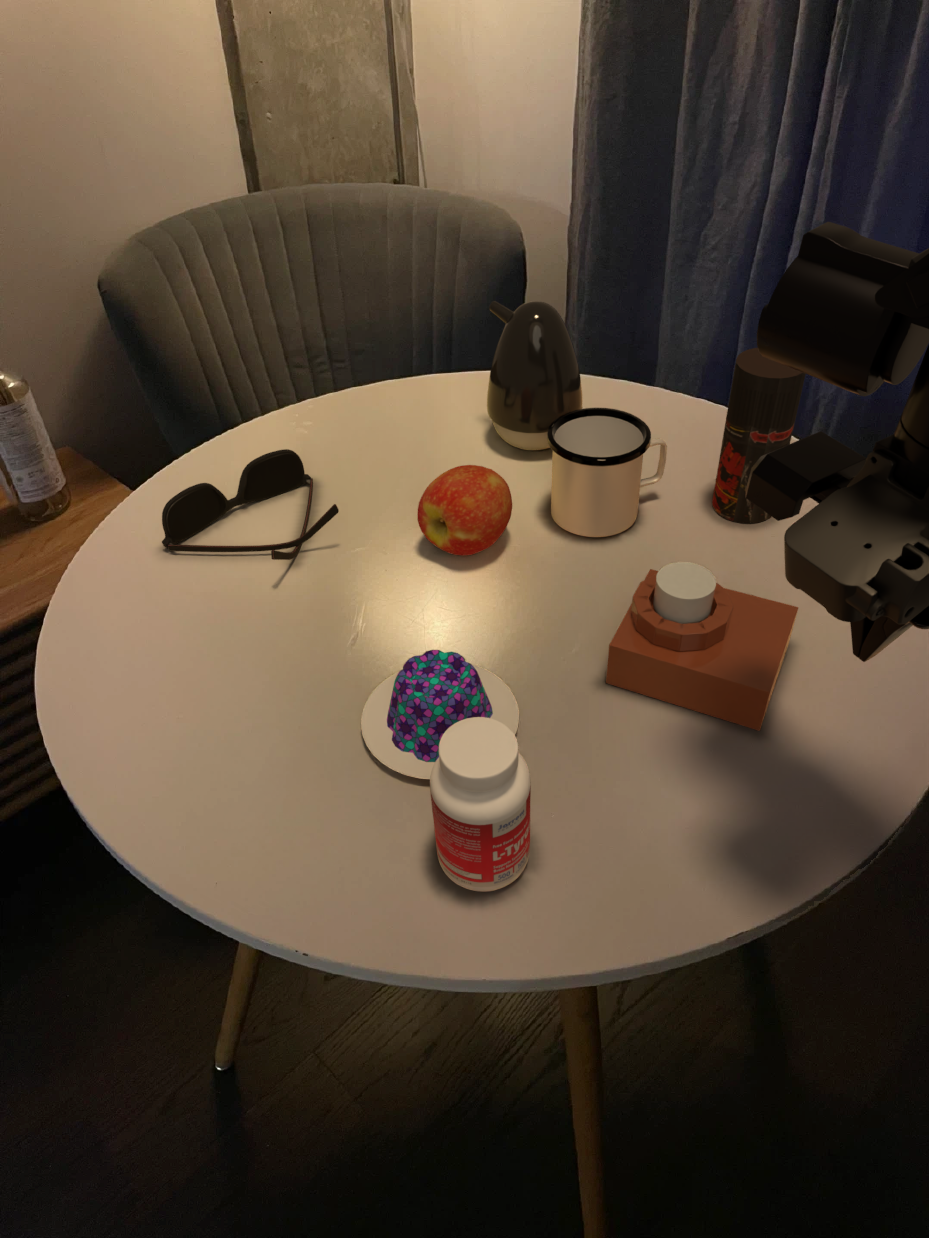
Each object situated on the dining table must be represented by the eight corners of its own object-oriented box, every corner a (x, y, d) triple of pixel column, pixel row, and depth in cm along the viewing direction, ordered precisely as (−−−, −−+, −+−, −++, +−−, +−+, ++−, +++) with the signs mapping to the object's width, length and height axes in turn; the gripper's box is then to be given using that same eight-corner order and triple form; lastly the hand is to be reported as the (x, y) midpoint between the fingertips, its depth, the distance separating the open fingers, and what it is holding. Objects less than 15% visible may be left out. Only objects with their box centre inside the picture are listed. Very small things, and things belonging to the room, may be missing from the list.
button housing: (788, 645, 72) (803, 589, 68) (759, 731, 66) (774, 674, 62) (645, 606, 76) (652, 551, 72) (605, 683, 70) (610, 627, 66)
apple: (408, 548, 84) (400, 477, 79) (467, 508, 88) (463, 438, 83) (471, 582, 80) (467, 509, 75) (529, 538, 84) (530, 466, 79)
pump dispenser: (517, 406, 103) (516, 276, 93) (597, 429, 99) (605, 294, 88) (468, 446, 97) (461, 311, 87) (550, 472, 93) (554, 333, 82)
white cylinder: (718, 595, 69) (722, 570, 67) (702, 631, 66) (707, 605, 64) (662, 581, 70) (666, 555, 69) (645, 615, 67) (648, 589, 66)
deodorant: (781, 522, 84) (815, 377, 74) (718, 524, 85) (744, 379, 75) (767, 487, 89) (797, 345, 79) (706, 489, 89) (729, 348, 79)
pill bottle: (503, 910, 56) (499, 805, 48) (420, 870, 58) (405, 764, 51) (545, 836, 60) (549, 728, 52) (466, 801, 62) (458, 693, 55)
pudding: (483, 806, 62) (481, 759, 58) (333, 757, 66) (322, 710, 62) (541, 688, 70) (542, 640, 66) (404, 651, 74) (398, 604, 70)
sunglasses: (234, 615, 78) (221, 571, 75) (158, 544, 86) (143, 501, 83) (384, 534, 86) (379, 491, 83) (302, 476, 94) (294, 435, 91)
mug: (570, 552, 82) (574, 469, 76) (530, 499, 89) (530, 419, 83) (684, 522, 85) (696, 439, 79) (636, 473, 92) (644, 393, 86)
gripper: (700, 391, 45) (656, 614, 55) (1045, 608, 33) (904, 834, 44) (852, 334, 49) (783, 552, 60) (1204, 509, 37) (1039, 739, 48)
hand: (863, 655), depth 53 cm, fingers closed
